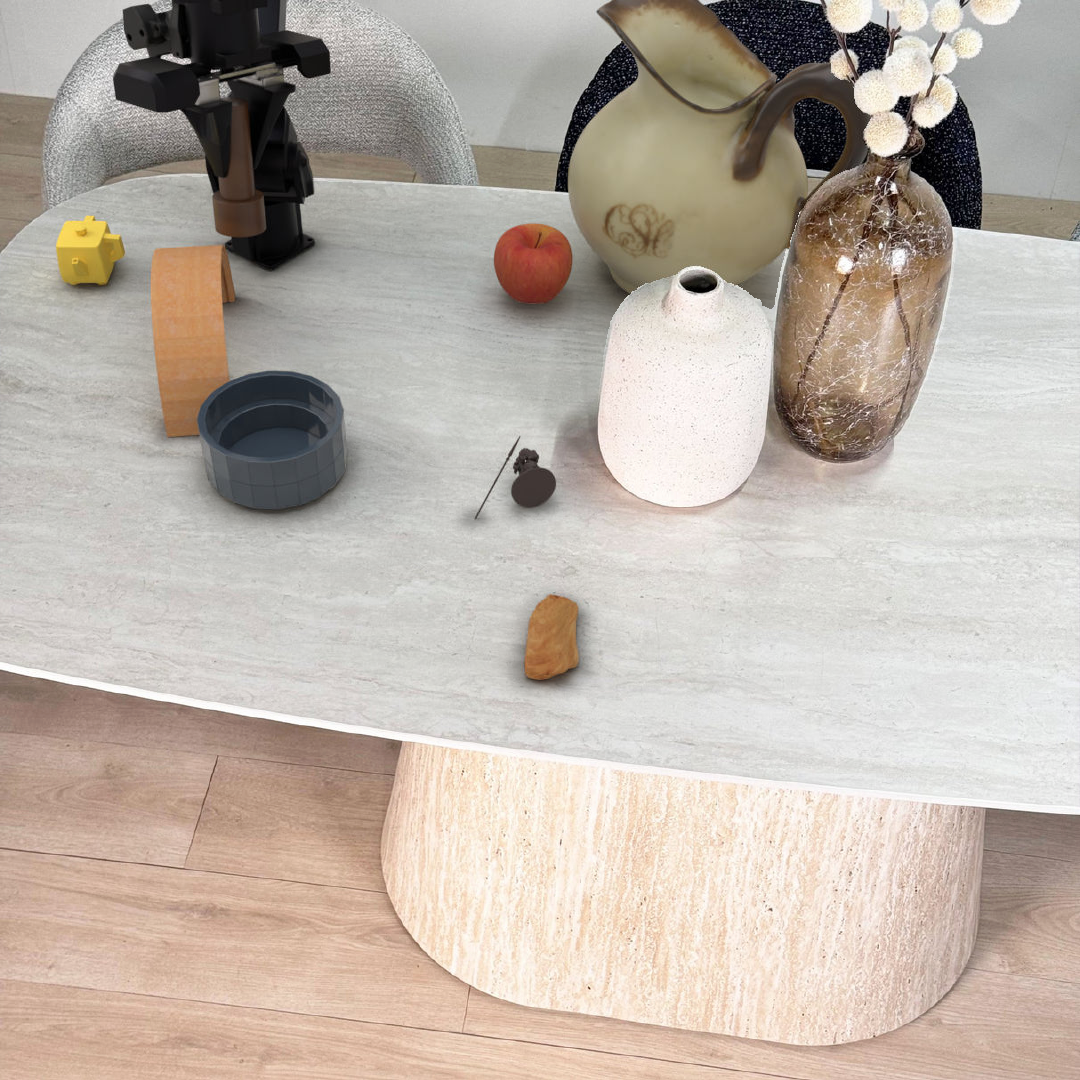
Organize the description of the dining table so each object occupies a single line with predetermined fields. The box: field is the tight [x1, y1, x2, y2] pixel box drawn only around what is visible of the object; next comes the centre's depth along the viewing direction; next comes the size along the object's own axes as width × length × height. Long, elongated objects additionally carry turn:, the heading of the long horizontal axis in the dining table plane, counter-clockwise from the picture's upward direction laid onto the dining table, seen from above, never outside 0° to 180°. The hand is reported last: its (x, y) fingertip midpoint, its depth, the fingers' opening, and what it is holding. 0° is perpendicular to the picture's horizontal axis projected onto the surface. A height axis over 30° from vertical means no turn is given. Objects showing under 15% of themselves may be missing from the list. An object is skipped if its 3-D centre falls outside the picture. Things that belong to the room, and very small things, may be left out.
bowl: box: [197, 370, 349, 510], centre depth 101 cm, size 11×11×6 cm
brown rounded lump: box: [523, 594, 580, 681], centre depth 90 cm, size 8×2×5 cm
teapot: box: [55, 215, 126, 286], centre depth 119 cm, size 8×6×5 cm
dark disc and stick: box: [474, 435, 557, 520], centre depth 101 cm, size 5×8×4 cm
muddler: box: [211, 96, 266, 238], centre depth 109 cm, size 4×4×11 cm
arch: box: [150, 244, 236, 438], centre depth 109 cm, size 6×20×10 cm, turn 9°
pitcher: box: [567, 0, 871, 295], centre depth 117 cm, size 22×24×25 cm
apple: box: [493, 222, 574, 305], centre depth 118 cm, size 7×7×8 cm
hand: (236, 172), depth 109 cm, fingers closed on muddler, 3 cm apart
